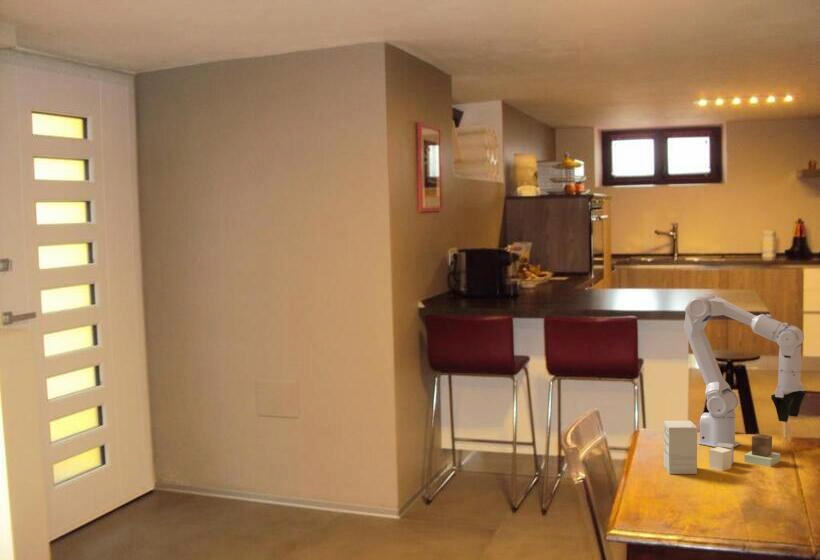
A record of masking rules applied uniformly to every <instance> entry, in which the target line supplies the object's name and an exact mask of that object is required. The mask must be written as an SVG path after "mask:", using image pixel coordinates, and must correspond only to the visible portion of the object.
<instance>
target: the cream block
mask: <svg viewBox="0 0 820 560" xmlns="http://www.w3.org/2000/svg"><path fill="white" fill-rule="evenodd" d="M708 455H709V456H708V457H709V458H708V459H709V461H708V468H710V469H713V470H717V471H720V472H725V471H726V470H730V469H732V465H731V455H732V450H729V449H725V448H721V447H713V448H709V452H708Z"/></svg>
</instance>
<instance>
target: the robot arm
mask: <svg viewBox="0 0 820 560" xmlns="http://www.w3.org/2000/svg"><path fill="white" fill-rule="evenodd" d="M684 312H685V317H684V323H683V324H684V325H683V331H684V332H685V335H686V337H687V342H688V343H689V346H690V349H691V351H692V353H693V355H694V358H695V360H696V361H695V362H696V364H697V366H698V369H699V371H700V374H701V376H702V379H703V382H704V385H705V392H704V394H705V397H706V408H707V410H708V411H707V412H703V413H702V414H701V416H700V419H699V430H698V431H699V432H698V433H699V437H698V439H699V441H697V445H703V446H708V447H713V448H716V445H717V444H718V442H720V443H728V444H734V448H736V447H737V446H739V445H741V442H739V441H736V412H735V409H736V408H737V407H738V406H739V405H738V404H739V398H738V396H737V394H736V393H735V392H734V391H733V390H732V389H731V386H730V384H729V383H728V382H727V381H726V380H725V379H724V376H723V374H722V372H721V368H720V366H719V364H718V361H717V359H716V357H715V354H714V351H713V349H712V346H711V344H710V341H709V339H708V336H707V333H706V331H705V328H706V326H707V324H708V322H709V321H710V319H711V318H712V317H716V316H725V317H726V318H727V317H728V318H730V319H733V320H735V321H737V322H741V323H742V324H745V325H748V326H750V328H751V330H752V332H753V333H755V334H757V335H759V336H761V337H763V338H764V339H767V340H769V341H772V342H774V343H777V345H778V347H779V348H778V349H779V350H778V369H777V370H778V371H777V372H778V374H777V385H776V389H775V390H774V393H773V394H772V395H770V398H771V401H772V402H773V404H774V407H775V411H776V414H777V418H778V421H779V422H783V423H787V422H789V417H794V418H797V417H799V414H800V411H801V410H800V409H801V405H802V403H803V401H804V399H805V397H806V395H807V391H806V388H805V387H803V382H802V381H801V378H802V376H801V375H802V345H801V344H803V342H804V339H805V336H804V332H803V330H801V328H799V327H797V326H796V325H789V323H788V322H782V321H779V320H777V319H775V318H773V316H772V315H771V314H768V313H766V314H764V313H761V314H759V315H755V314H753V313H751V312H750V311H748V310H745V309H744V308H741V307H740V306H737V305H735V304H733V303H731V302H729V301H728V300H726V299H723V298H721V297H719V296H714V295H713V294H708V293H706V294H703V295H701V296H695V297H692V298H691V299H690V300H689V301H688V303H687V304H686V306H685V308H684Z"/></svg>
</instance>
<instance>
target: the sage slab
mask: <svg viewBox="0 0 820 560" xmlns="http://www.w3.org/2000/svg"><path fill="white" fill-rule="evenodd" d="M743 460H744V461H743V462H744V463H748V464H754V465H758V466H763V467H769V468H771V467H773V466H774V465H776V464H779V462H781V453H779V452H773V451H772V454H771V455H769V456H768V457H764V456H758V455H752V450H750V451H749V452H747V453H745V454H744V459H743Z"/></svg>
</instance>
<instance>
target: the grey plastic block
mask: <svg viewBox="0 0 820 560" xmlns="http://www.w3.org/2000/svg"><path fill="white" fill-rule="evenodd" d="M716 447H721V448H725V449H729V450H732V455H731V466H732V465H733V463H734V461H735V460H734V458H735V457H734V453H735V450H734V449H735V447H734V444H728V443H720V442H718V444H717V445H716ZM716 447H715V448H716Z"/></svg>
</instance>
